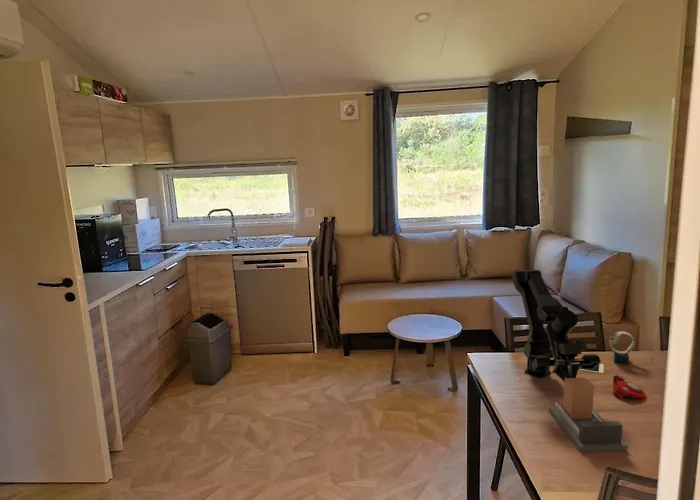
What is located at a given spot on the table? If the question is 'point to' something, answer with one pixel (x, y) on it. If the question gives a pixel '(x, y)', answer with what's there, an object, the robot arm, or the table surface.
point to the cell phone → (596, 369)
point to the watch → (620, 355)
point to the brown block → (578, 398)
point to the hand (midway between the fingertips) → (573, 390)
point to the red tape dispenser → (626, 388)
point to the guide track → (575, 438)
